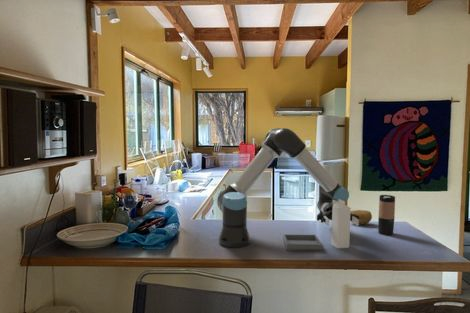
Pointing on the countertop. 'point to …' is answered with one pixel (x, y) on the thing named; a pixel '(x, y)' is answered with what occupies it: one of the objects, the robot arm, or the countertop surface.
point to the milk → (340, 225)
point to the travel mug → (386, 214)
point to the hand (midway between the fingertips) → (342, 222)
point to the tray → (302, 242)
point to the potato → (362, 216)
